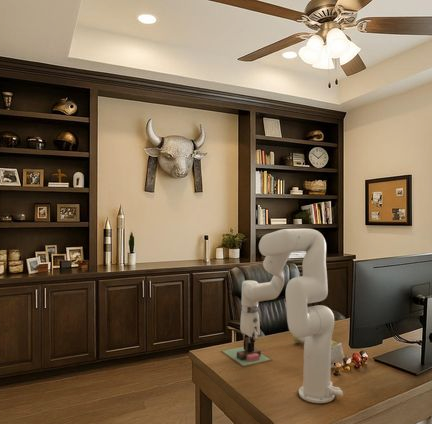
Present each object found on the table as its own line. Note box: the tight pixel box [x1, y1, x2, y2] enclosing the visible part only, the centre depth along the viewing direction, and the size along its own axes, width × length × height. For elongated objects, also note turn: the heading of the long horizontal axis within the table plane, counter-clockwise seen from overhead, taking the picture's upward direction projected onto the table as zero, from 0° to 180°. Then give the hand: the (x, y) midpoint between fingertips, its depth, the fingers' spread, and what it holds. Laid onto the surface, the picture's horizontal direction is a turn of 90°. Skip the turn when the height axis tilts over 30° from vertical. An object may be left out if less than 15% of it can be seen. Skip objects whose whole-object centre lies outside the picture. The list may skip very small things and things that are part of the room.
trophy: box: [292, 335, 340, 364], centre depth 180 cm, size 8×8×30 cm
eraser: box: [246, 353, 260, 362], centre depth 169 cm, size 3×5×2 cm, turn 122°
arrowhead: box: [331, 342, 346, 369], centre depth 163 cm, size 8×2×10 cm, turn 119°
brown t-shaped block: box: [237, 337, 262, 360], centre depth 172 cm, size 4×10×8 cm, turn 122°
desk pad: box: [222, 346, 272, 367], centre depth 174 cm, size 20×14×1 cm
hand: (248, 350), depth 172 cm, fingers closed on brown t-shaped block, 2 cm apart
